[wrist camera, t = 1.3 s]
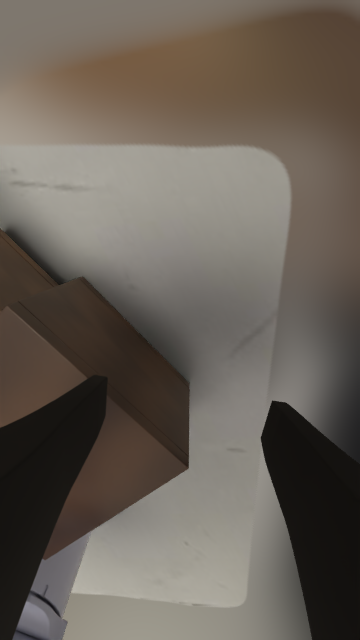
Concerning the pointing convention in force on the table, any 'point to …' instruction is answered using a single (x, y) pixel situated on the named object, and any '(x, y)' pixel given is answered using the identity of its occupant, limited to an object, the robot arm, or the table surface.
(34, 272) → the drawer
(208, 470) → the table surface
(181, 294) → the table surface
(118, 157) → the table surface
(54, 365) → the cabinet
